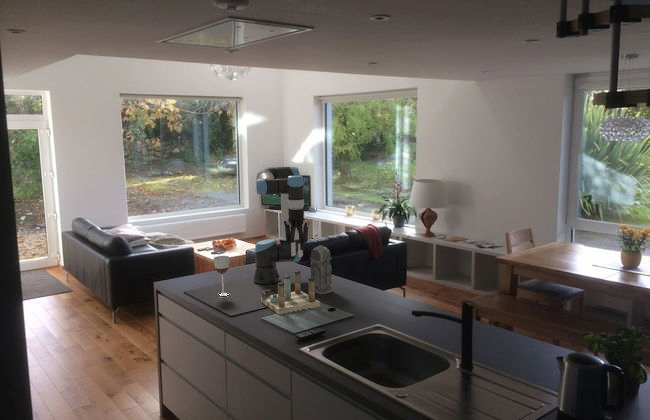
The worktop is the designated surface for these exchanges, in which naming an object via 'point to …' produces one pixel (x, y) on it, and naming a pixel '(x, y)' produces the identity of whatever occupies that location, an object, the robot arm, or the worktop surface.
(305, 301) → the stool
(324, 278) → the figurine
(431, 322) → the worktop surface
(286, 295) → the folding leg
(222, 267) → the wineglass
